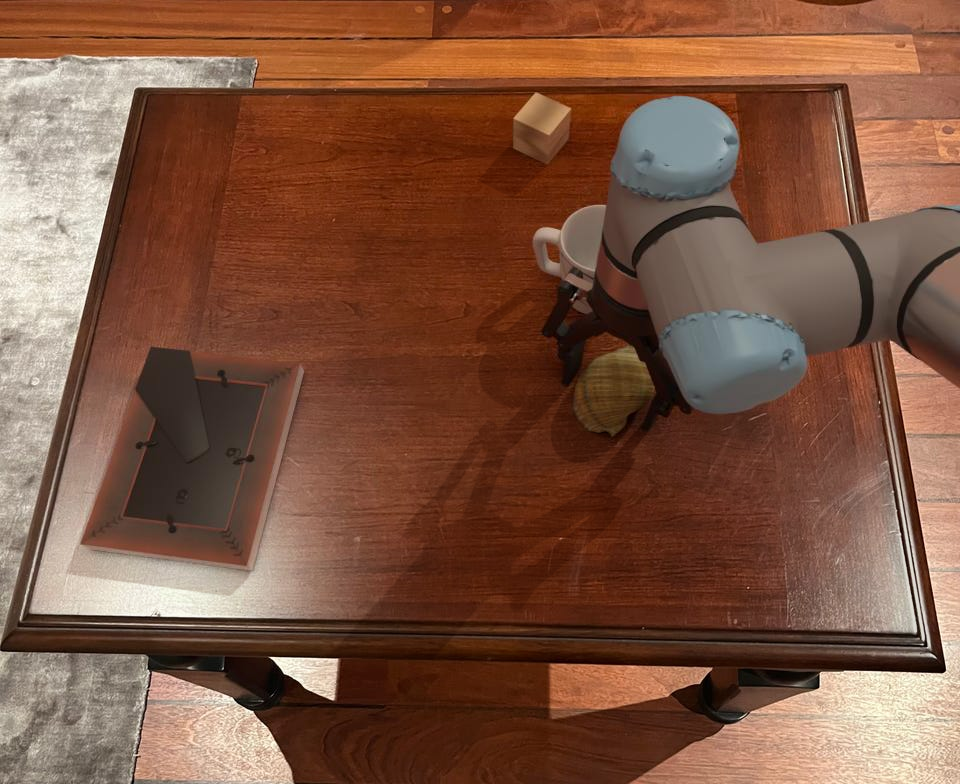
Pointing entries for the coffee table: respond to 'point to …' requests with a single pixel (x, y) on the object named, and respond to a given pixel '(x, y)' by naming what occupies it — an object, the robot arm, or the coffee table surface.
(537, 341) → the coffee table surface
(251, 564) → the picture frame
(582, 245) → the mug
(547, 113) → the maple block
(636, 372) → the seashell
